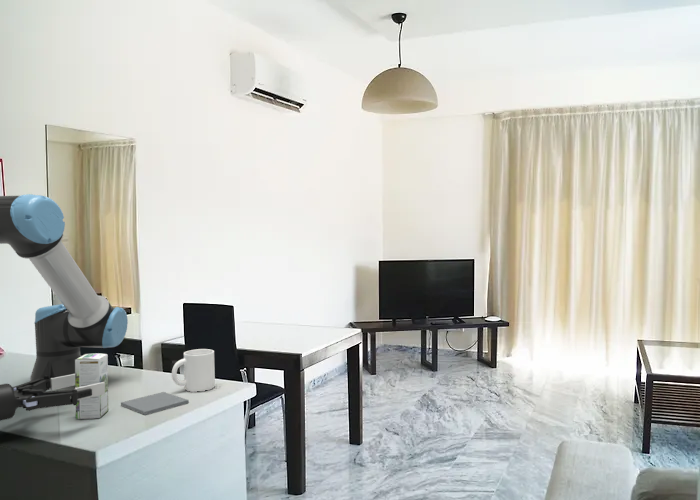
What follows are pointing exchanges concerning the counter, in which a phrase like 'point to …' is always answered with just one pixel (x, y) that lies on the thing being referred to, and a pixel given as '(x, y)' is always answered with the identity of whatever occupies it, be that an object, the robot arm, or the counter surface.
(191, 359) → the mug
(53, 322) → the robot arm
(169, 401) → the coaster
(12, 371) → the counter surface
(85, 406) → the syrup box
